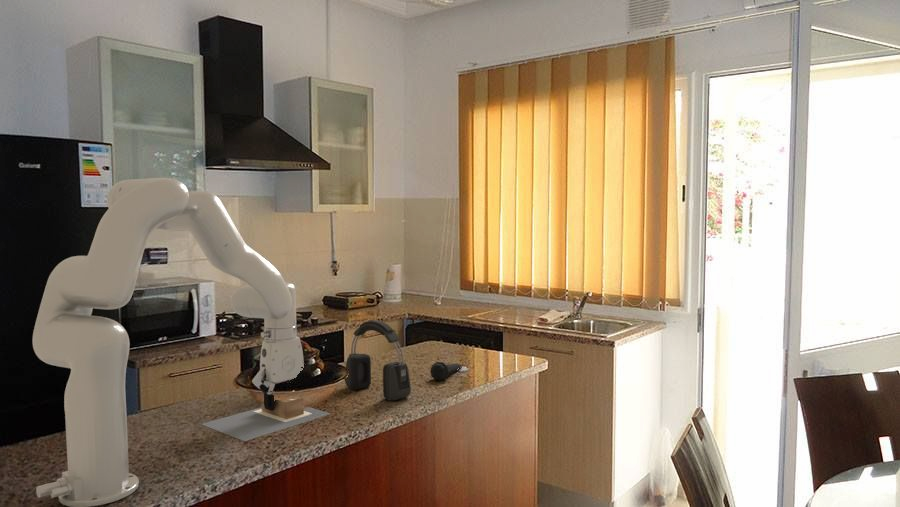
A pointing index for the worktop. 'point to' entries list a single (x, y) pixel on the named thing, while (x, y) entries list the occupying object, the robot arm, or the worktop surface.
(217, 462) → the worktop surface
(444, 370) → the microphone
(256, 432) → the mat
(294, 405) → the block
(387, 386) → the headphones
